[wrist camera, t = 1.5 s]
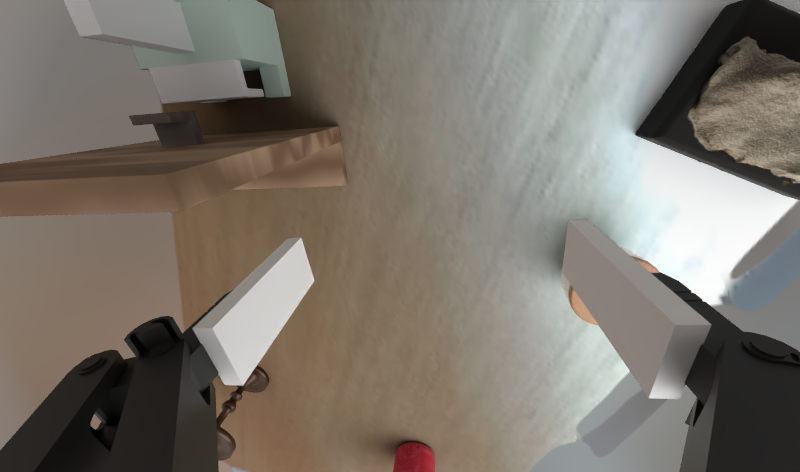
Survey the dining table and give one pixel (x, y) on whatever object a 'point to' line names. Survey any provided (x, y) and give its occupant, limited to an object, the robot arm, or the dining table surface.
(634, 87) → the dining table surface
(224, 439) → the candlestick
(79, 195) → the wall board
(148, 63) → the pale green block
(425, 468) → the red flared column
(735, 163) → the coral
